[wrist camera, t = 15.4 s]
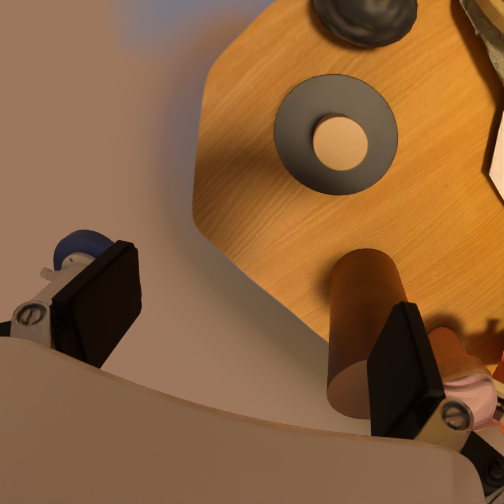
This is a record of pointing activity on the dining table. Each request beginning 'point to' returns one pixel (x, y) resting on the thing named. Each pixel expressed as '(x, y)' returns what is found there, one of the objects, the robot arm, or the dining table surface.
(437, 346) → the ice cream cone
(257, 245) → the dining table surface
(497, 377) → the toy character
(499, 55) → the rock
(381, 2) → the decorative stone
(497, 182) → the plate
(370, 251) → the cylinder
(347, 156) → the lid
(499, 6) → the sculpture
